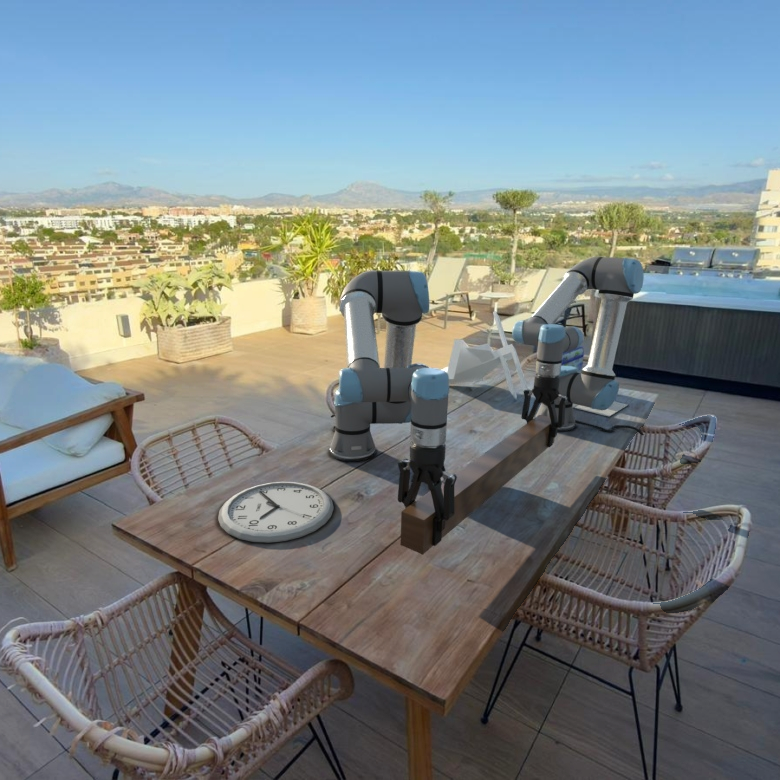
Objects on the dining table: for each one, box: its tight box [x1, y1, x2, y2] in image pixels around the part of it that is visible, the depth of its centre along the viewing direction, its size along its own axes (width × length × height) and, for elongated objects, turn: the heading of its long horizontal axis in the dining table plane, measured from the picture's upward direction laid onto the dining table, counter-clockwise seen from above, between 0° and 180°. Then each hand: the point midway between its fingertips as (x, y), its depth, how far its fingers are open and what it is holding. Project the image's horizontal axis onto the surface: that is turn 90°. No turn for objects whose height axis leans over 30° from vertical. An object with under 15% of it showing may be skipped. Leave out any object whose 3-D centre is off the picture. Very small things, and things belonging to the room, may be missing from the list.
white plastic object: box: [441, 310, 529, 400], centre depth 245 cm, size 37×45×31 cm
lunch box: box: [561, 346, 585, 373], centre depth 247 cm, size 26×11×21 cm, turn 134°
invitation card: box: [573, 401, 629, 418], centre depth 226 cm, size 21×1×15 cm
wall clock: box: [217, 481, 335, 544], centre depth 139 cm, size 30×2×30 cm
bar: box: [400, 415, 555, 555], centre depth 142 cm, size 78×6×8 cm, turn 143°
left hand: (424, 537), depth 117 cm, fingers closed on bar, 6 cm apart
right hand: (539, 443), depth 170 cm, fingers closed on bar, 6 cm apart
